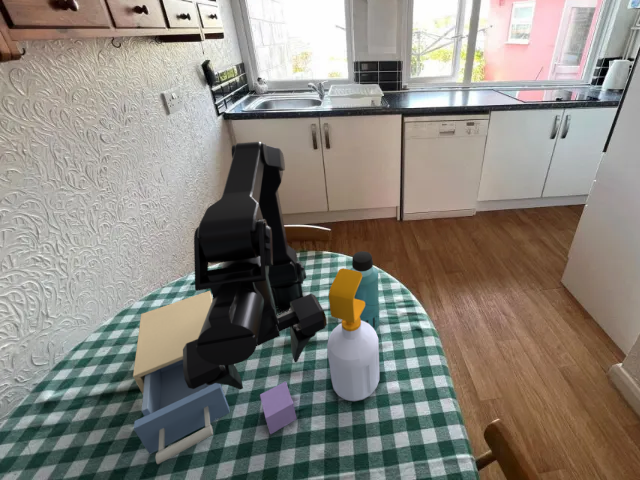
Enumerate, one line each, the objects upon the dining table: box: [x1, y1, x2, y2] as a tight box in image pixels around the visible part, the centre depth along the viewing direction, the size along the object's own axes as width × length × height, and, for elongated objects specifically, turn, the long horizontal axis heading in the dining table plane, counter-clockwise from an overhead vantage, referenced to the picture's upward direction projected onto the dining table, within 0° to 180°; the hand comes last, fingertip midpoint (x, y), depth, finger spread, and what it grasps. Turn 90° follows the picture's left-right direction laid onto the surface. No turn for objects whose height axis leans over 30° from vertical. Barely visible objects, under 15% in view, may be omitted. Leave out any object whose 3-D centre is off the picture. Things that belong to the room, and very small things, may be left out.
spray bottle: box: [326, 267, 380, 402], centre depth 54 cm, size 9×9×25 cm
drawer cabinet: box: [132, 290, 213, 395], centre depth 62 cm, size 16×13×9 cm
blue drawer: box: [133, 359, 230, 465], centre depth 53 cm, size 19×11×7 cm, turn 31°
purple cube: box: [259, 381, 297, 435], centre depth 53 cm, size 4×4×4 cm
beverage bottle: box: [349, 250, 381, 332], centre depth 65 cm, size 6×7×20 cm
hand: (269, 372), depth 49 cm, fingers open, 8 cm apart
